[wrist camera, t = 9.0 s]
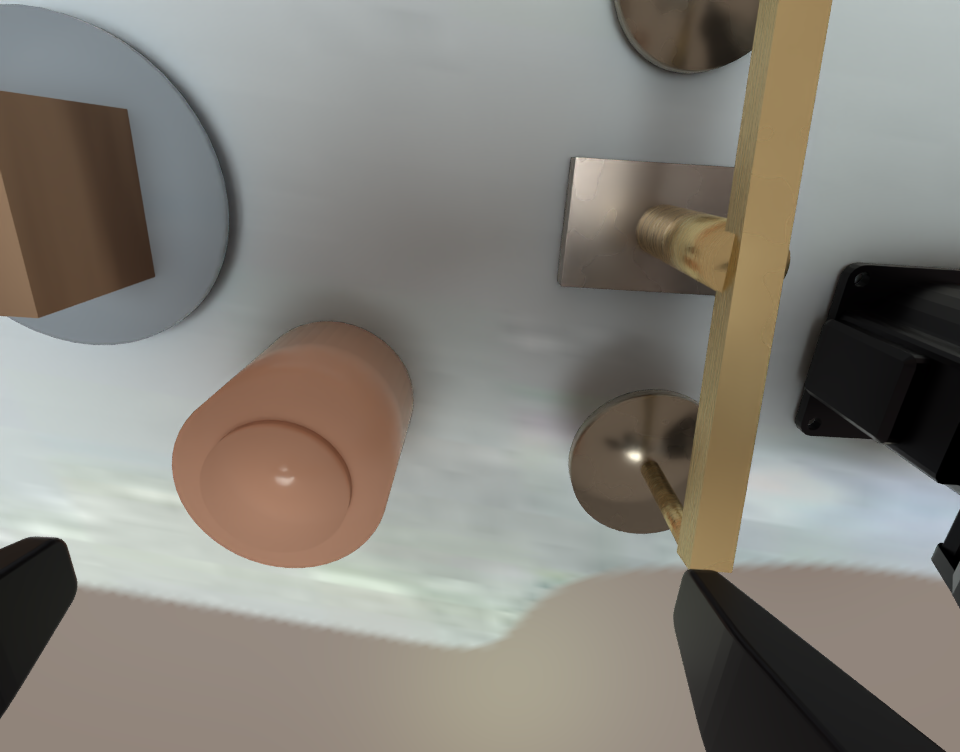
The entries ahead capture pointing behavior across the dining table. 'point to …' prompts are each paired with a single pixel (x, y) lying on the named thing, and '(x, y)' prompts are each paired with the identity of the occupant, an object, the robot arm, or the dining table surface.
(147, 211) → the disc
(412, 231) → the dining table surface
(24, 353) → the dining table surface
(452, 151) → the dining table surface
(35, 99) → the walnut block
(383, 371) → the terracotta lidded jar
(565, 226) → the balance
